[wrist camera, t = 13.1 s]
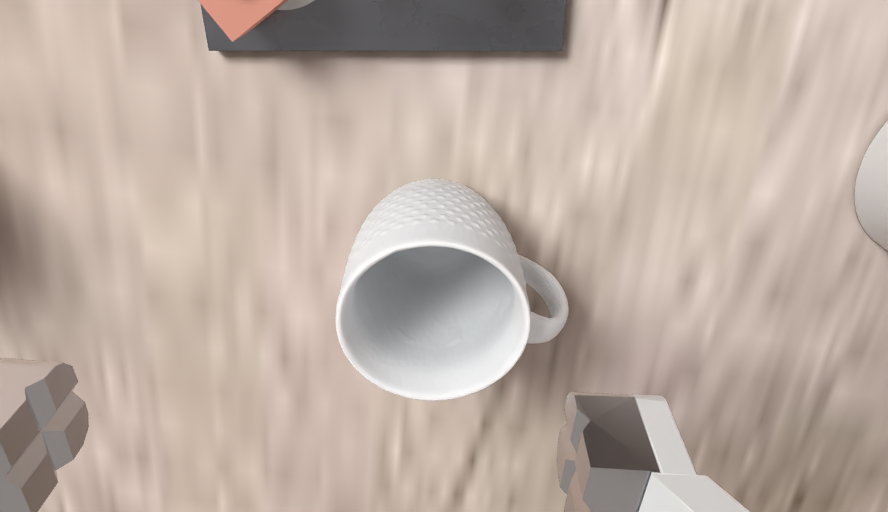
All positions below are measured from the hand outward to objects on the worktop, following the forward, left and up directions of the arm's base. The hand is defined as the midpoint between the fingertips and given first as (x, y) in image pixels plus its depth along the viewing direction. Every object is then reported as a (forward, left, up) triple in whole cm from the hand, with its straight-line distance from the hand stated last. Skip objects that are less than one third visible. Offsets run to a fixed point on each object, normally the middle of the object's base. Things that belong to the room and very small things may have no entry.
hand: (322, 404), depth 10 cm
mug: (-3, +13, -34) cm, 36 cm away
